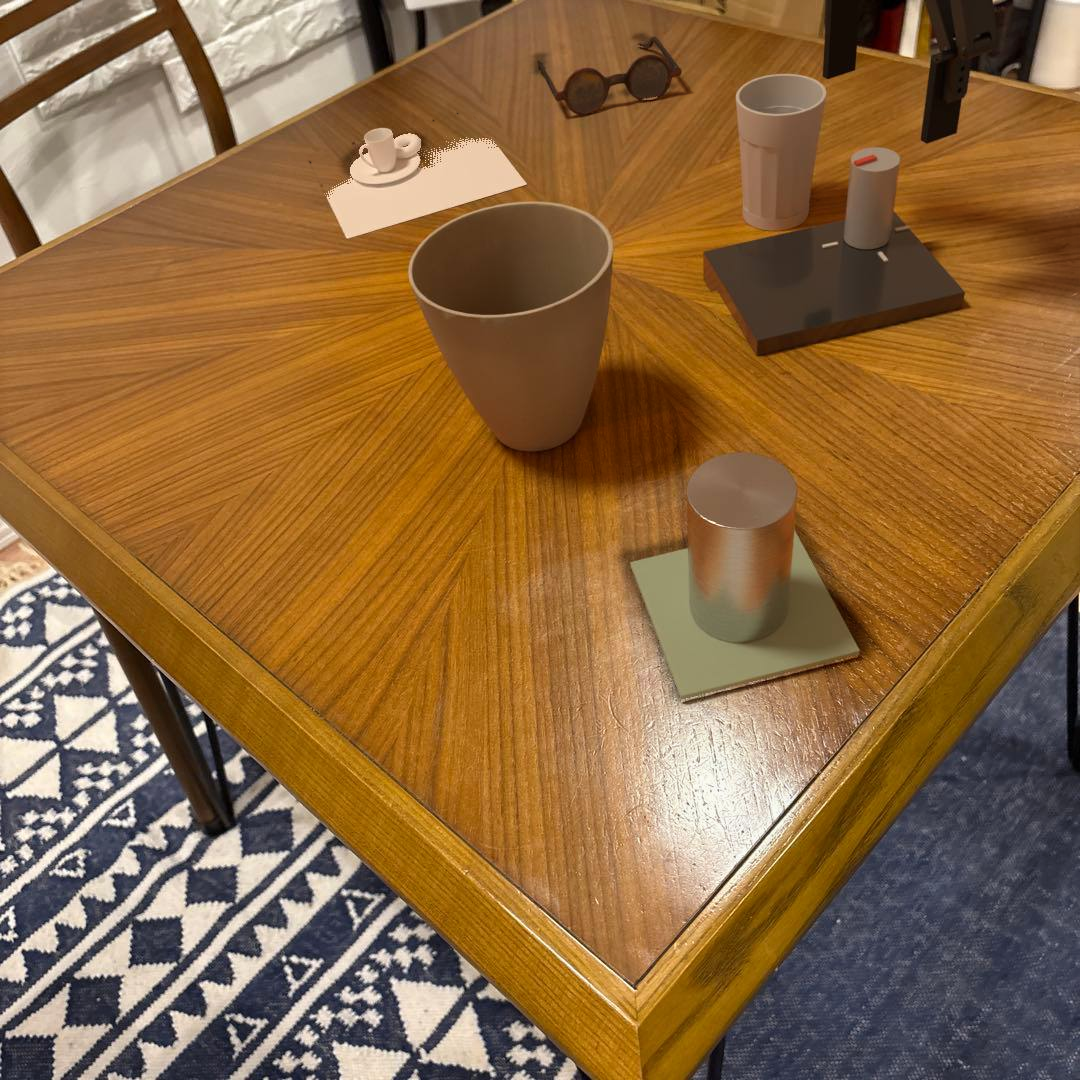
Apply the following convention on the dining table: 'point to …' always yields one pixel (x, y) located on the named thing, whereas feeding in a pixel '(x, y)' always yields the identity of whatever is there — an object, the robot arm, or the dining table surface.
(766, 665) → the trivet
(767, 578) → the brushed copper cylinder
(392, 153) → the teacup and saucer
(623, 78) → the eyeglasses
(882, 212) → the hob knob
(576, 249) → the plant pot
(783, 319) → the hob control panel
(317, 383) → the dining table surface
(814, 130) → the cup
